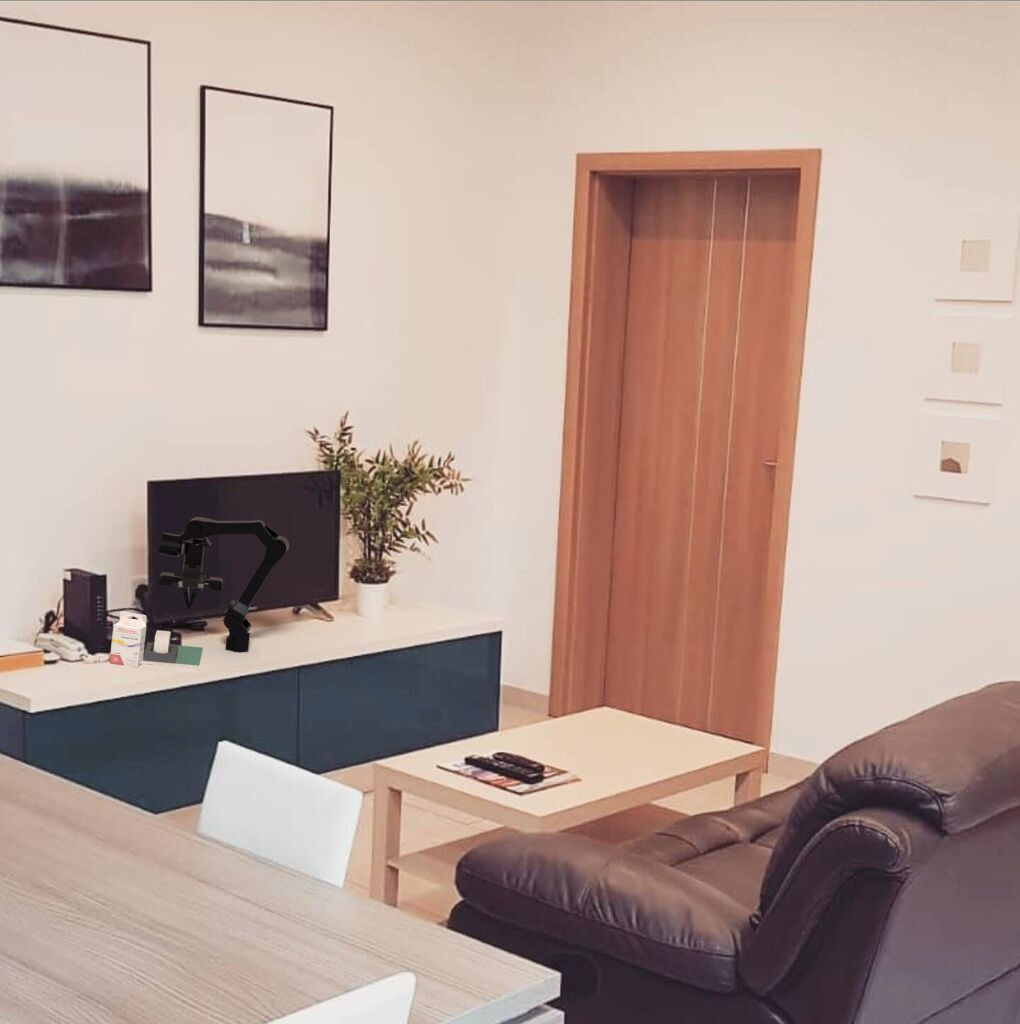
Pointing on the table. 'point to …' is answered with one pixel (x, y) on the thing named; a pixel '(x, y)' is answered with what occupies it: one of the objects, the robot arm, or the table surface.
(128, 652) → the ink cartridge box
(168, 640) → the plug
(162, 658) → the board
